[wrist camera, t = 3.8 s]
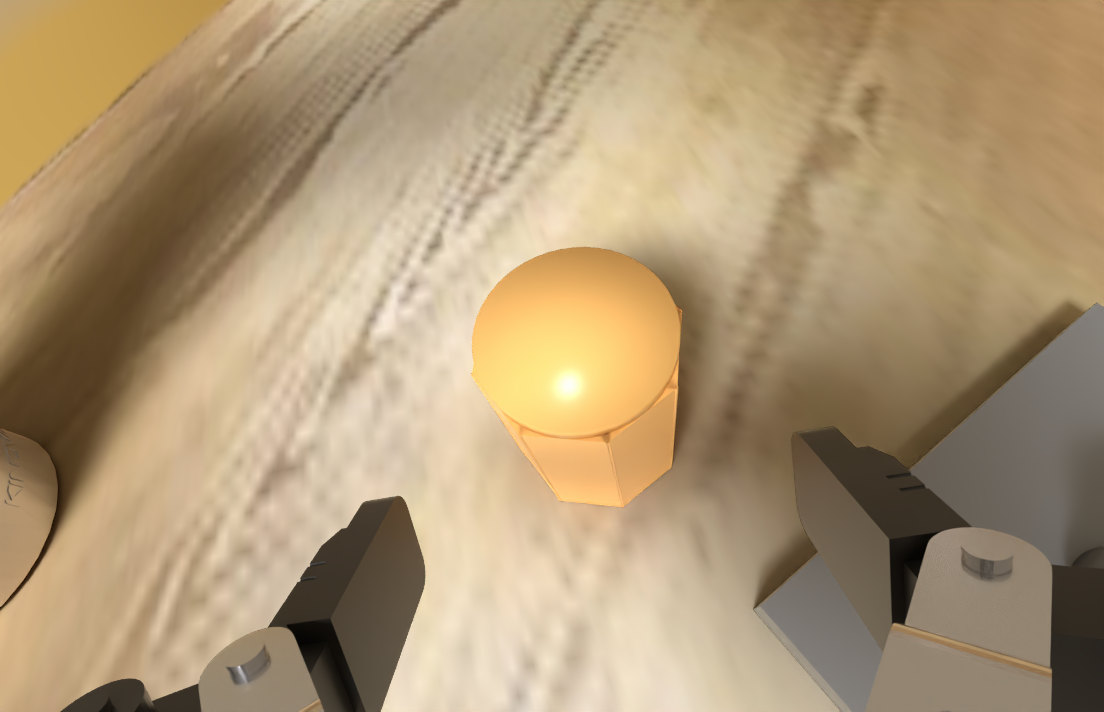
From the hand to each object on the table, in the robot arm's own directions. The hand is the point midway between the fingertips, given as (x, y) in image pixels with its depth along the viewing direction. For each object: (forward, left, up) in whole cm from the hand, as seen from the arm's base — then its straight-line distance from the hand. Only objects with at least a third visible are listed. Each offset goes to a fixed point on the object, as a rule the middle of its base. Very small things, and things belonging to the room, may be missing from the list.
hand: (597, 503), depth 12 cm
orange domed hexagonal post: (+3, +4, -10) cm, 11 cm away
